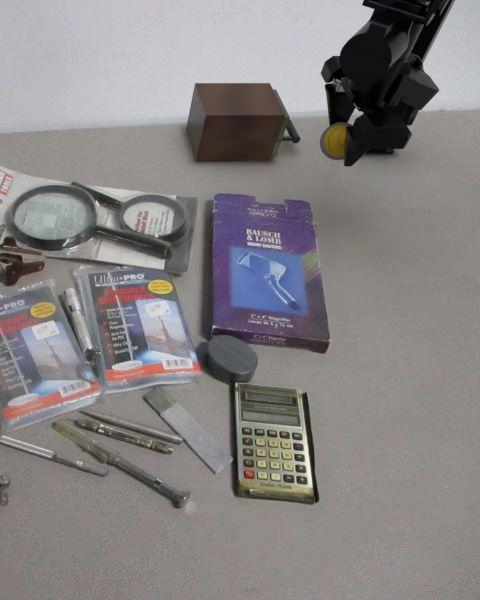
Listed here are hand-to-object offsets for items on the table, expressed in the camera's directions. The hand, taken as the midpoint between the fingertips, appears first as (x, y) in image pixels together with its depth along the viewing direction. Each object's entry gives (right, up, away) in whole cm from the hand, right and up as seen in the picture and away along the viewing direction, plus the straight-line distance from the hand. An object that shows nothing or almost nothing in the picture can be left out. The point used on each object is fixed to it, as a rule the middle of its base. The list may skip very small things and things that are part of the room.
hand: (340, 151), depth 87 cm
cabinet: (-12, +6, +21) cm, 25 cm away
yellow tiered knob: (0, -1, +1) cm, 1 cm away
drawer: (-8, +7, +20) cm, 23 cm away
